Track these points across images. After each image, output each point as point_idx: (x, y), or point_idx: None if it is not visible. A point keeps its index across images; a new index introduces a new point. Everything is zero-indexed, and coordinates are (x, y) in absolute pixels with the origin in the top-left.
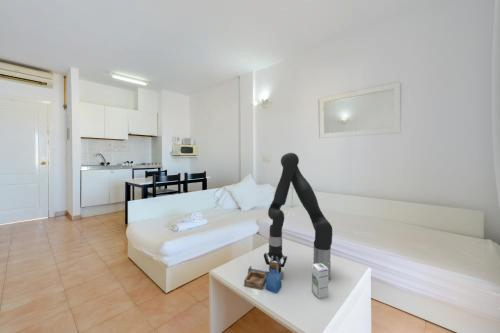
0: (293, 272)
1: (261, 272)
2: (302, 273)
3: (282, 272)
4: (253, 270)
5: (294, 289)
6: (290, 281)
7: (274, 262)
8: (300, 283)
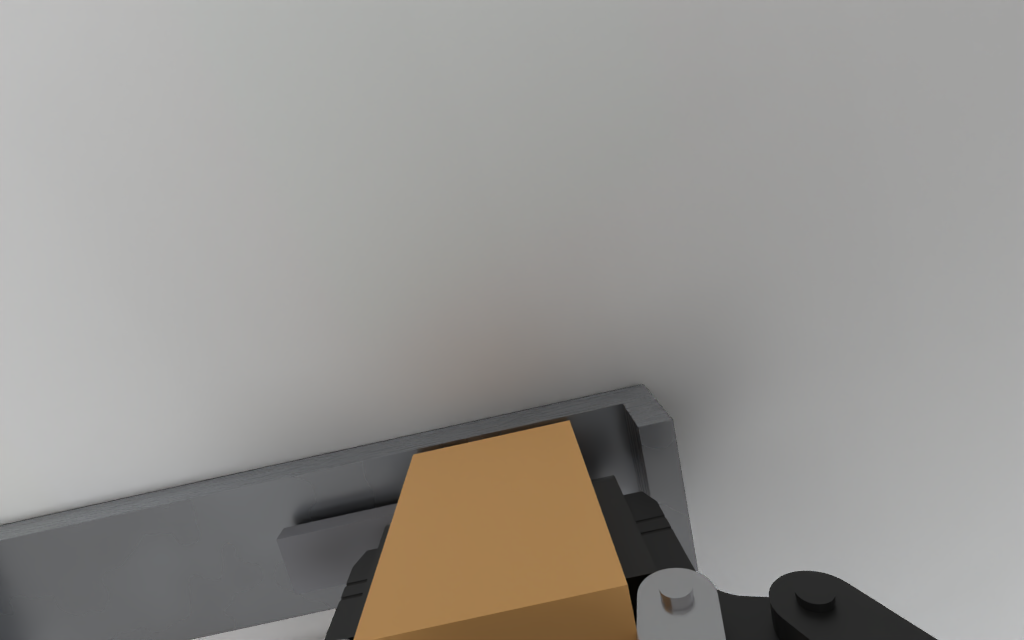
0: (808, 116)
1: (208, 567)
2: (1013, 42)
3: (665, 449)
4: (15, 591)
5: (935, 636)
6: (824, 471)
7: (433, 637)
8: (1011, 433)
